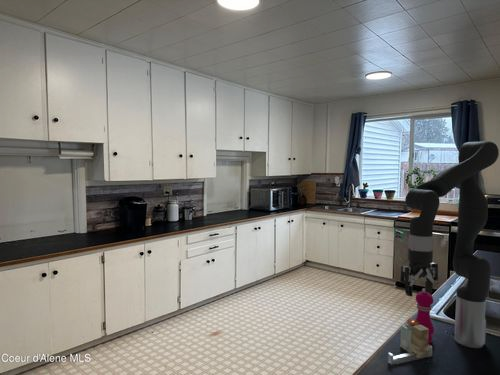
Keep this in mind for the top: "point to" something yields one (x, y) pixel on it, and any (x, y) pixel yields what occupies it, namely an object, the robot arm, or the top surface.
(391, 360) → the rail
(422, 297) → the pepper mill
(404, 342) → the cabinet
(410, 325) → the plunger
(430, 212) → the robot arm
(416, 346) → the carriage
